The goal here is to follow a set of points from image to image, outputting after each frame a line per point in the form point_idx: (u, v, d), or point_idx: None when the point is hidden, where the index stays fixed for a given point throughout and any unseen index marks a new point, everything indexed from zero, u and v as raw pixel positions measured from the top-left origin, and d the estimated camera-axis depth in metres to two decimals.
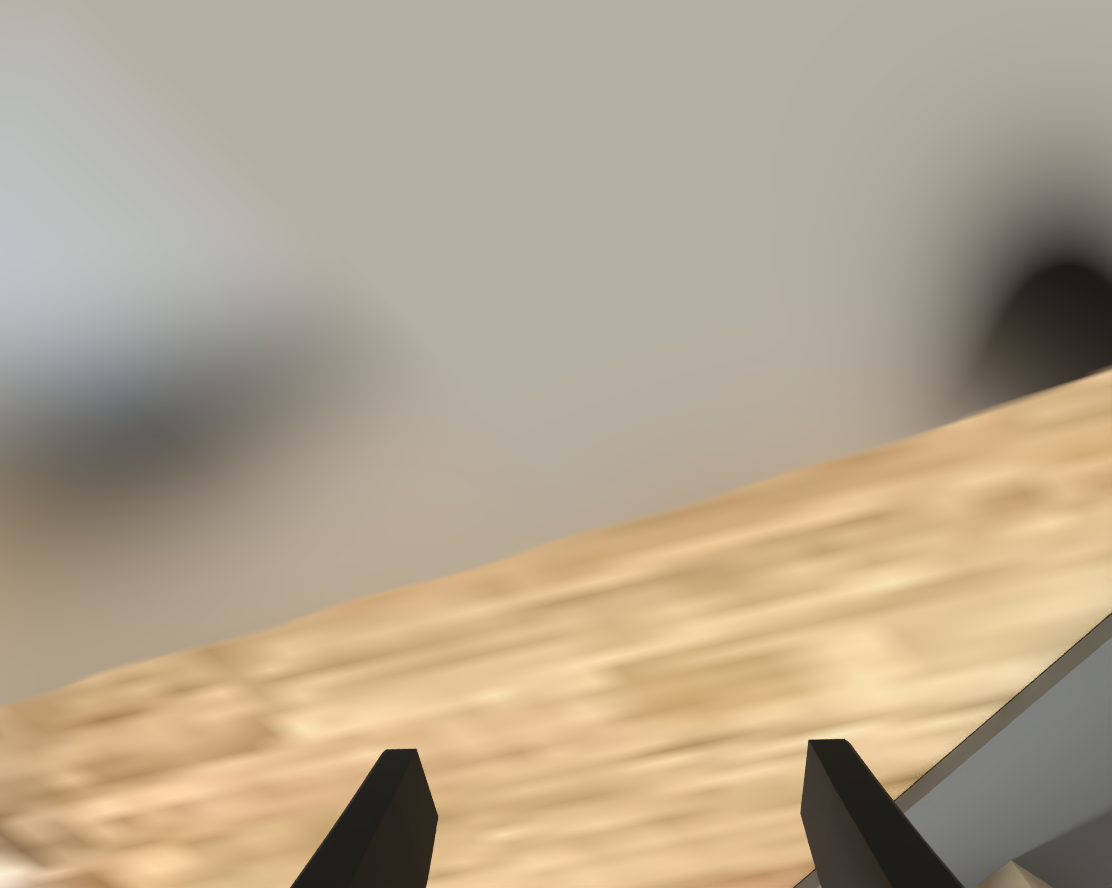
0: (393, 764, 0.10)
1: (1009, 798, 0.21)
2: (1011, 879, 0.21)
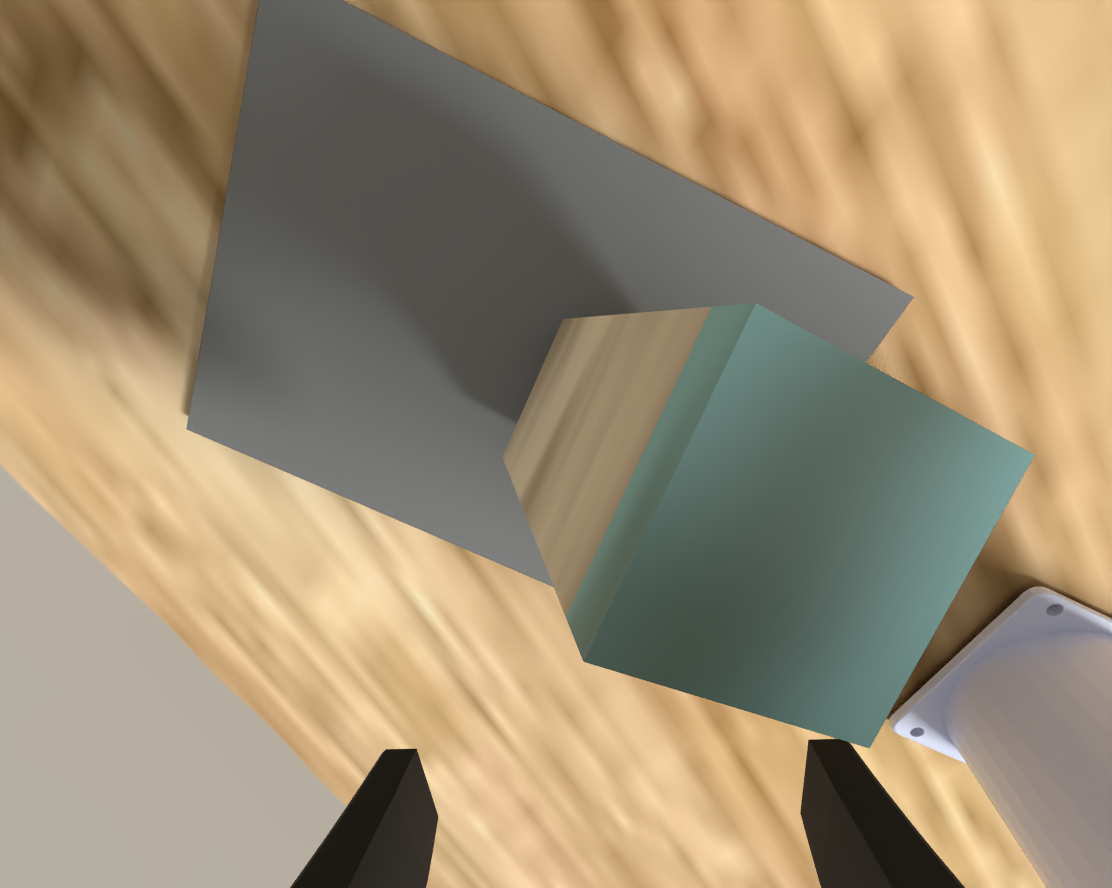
0: (393, 764, 0.10)
1: (424, 467, 0.19)
2: None
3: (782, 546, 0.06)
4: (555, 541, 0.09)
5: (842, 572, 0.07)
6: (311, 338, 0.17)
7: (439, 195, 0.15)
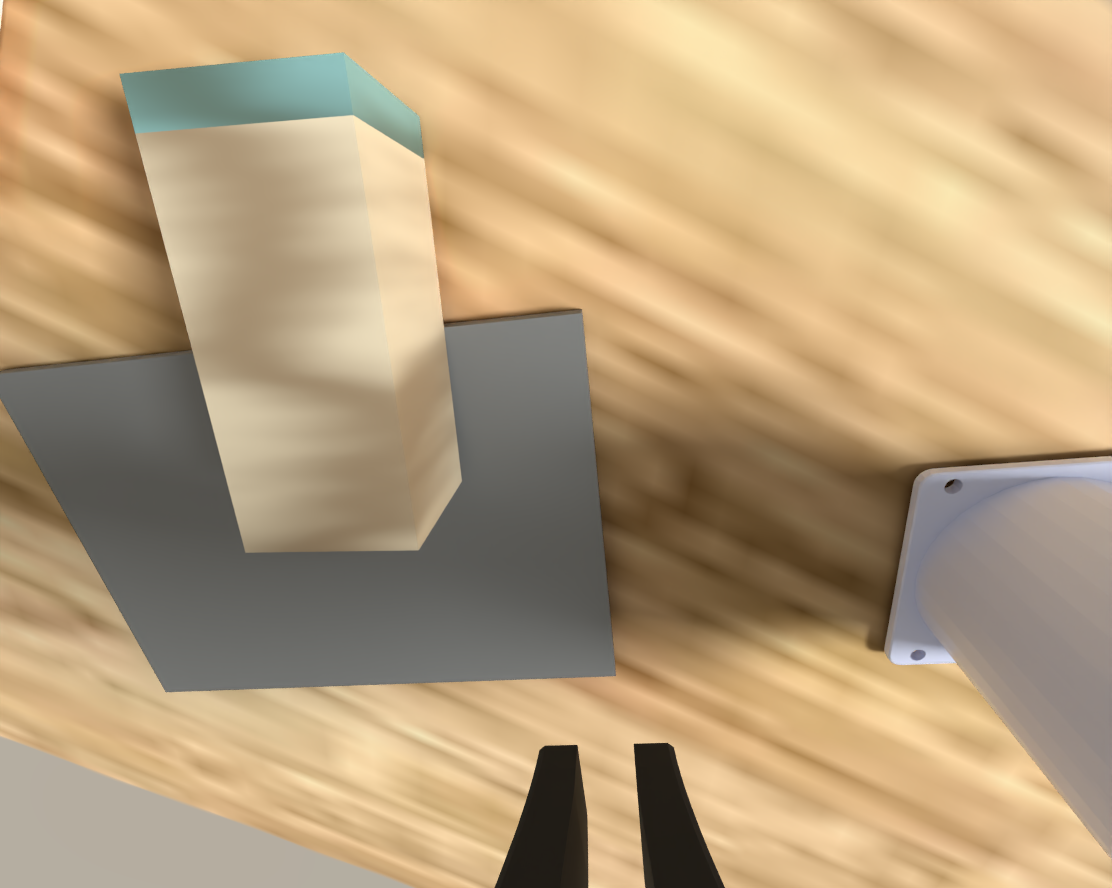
0: (559, 761, 0.09)
1: (331, 638, 0.21)
2: (258, 534, 0.13)
3: None
4: (174, 226, 0.11)
5: None
6: (192, 590, 0.20)
7: (193, 451, 0.18)
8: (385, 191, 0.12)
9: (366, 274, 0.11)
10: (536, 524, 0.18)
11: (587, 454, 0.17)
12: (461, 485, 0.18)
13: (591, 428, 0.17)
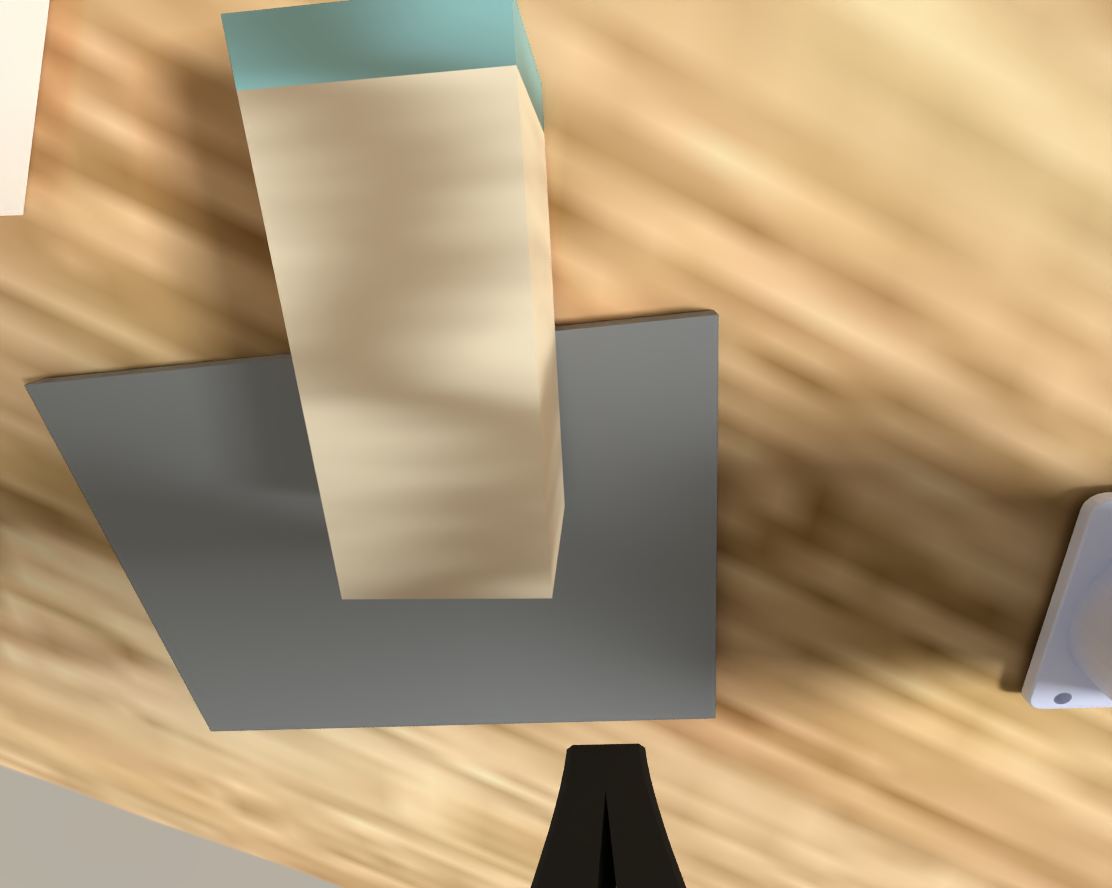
0: (589, 760, 0.09)
1: (399, 676, 0.19)
2: (358, 578, 0.11)
3: None
4: (275, 209, 0.09)
5: None
6: (246, 623, 0.18)
7: (255, 470, 0.16)
8: (531, 166, 0.09)
9: (516, 267, 0.09)
10: (642, 553, 0.16)
11: (708, 476, 0.15)
12: None
13: (716, 446, 0.15)
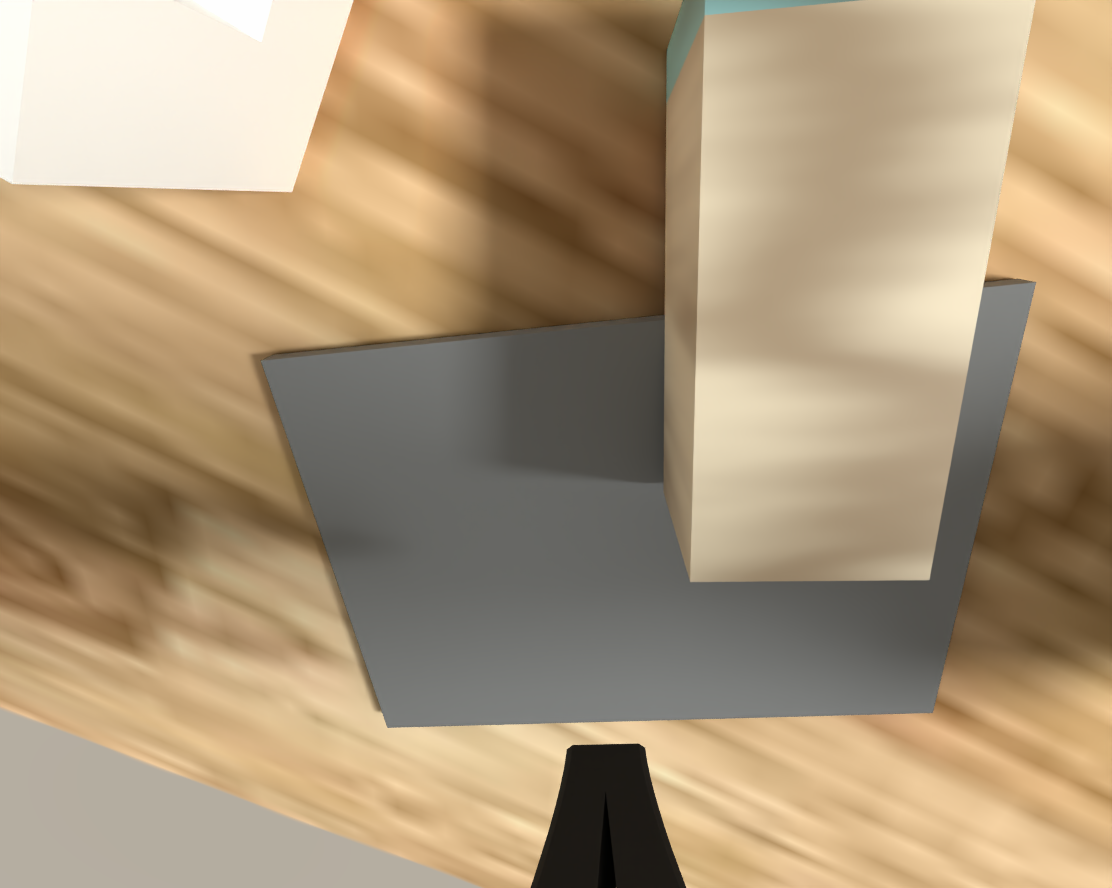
0: (589, 761, 0.09)
1: (602, 669, 0.18)
2: (714, 559, 0.10)
3: None
4: (696, 152, 0.09)
5: None
6: (448, 614, 0.17)
7: (493, 451, 0.15)
8: None
9: (980, 214, 0.08)
10: None
11: (984, 456, 0.14)
12: None
13: (999, 424, 0.14)
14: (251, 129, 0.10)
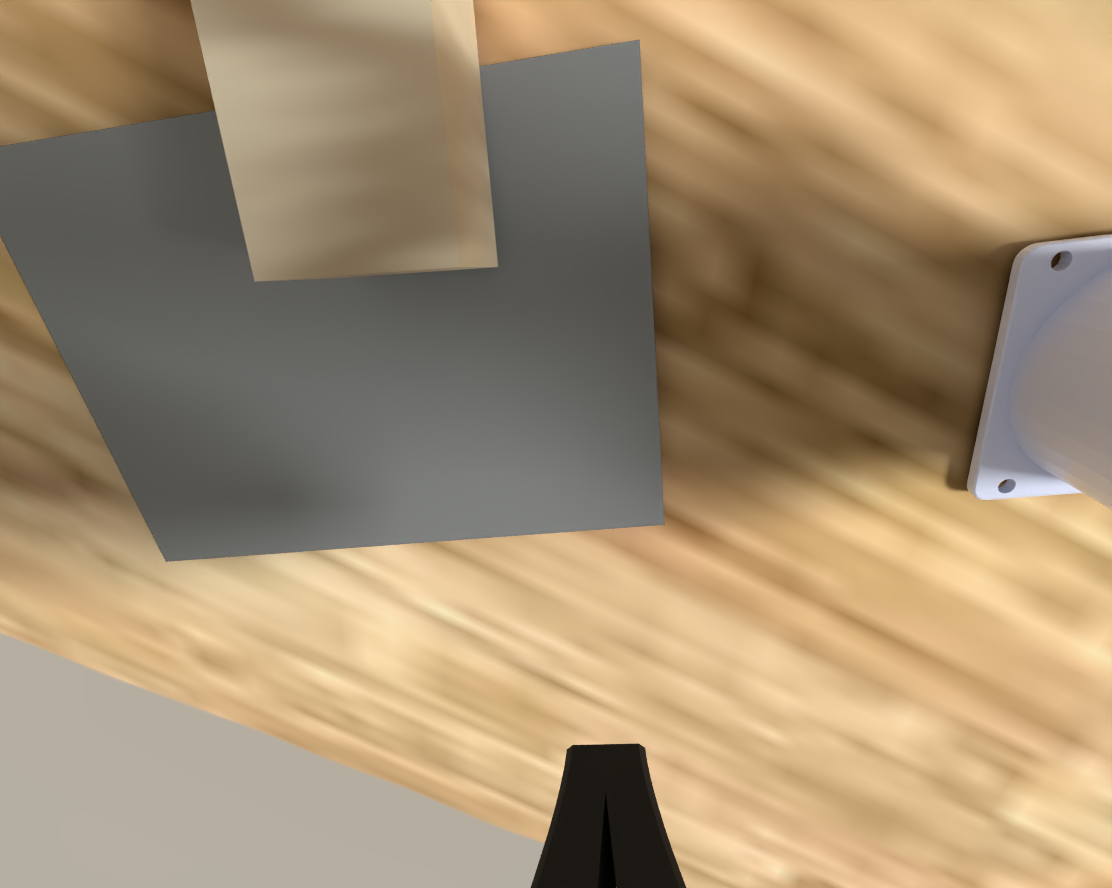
0: (589, 760, 0.09)
1: (348, 487, 0.19)
2: (269, 255, 0.11)
3: None
4: None
5: None
6: (193, 430, 0.18)
7: (192, 246, 0.16)
8: None
9: None
10: (580, 329, 0.16)
11: (640, 233, 0.15)
12: (496, 280, 0.16)
13: (646, 198, 0.15)
14: None
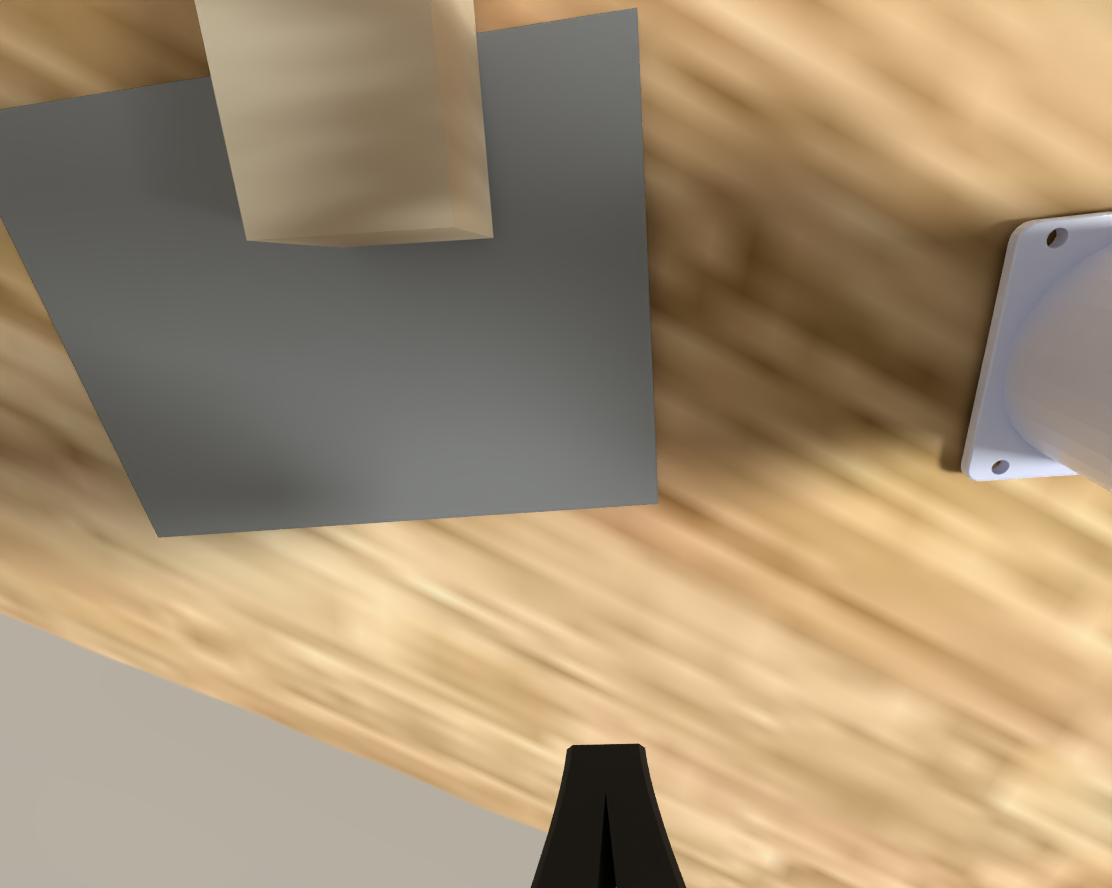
0: (589, 760, 0.09)
1: (342, 463, 0.19)
2: (262, 213, 0.11)
3: None
4: None
5: None
6: (186, 403, 0.18)
7: (187, 215, 0.16)
8: None
9: None
10: (575, 303, 0.16)
11: (637, 206, 0.15)
12: (491, 253, 0.16)
13: (642, 170, 0.15)
14: None
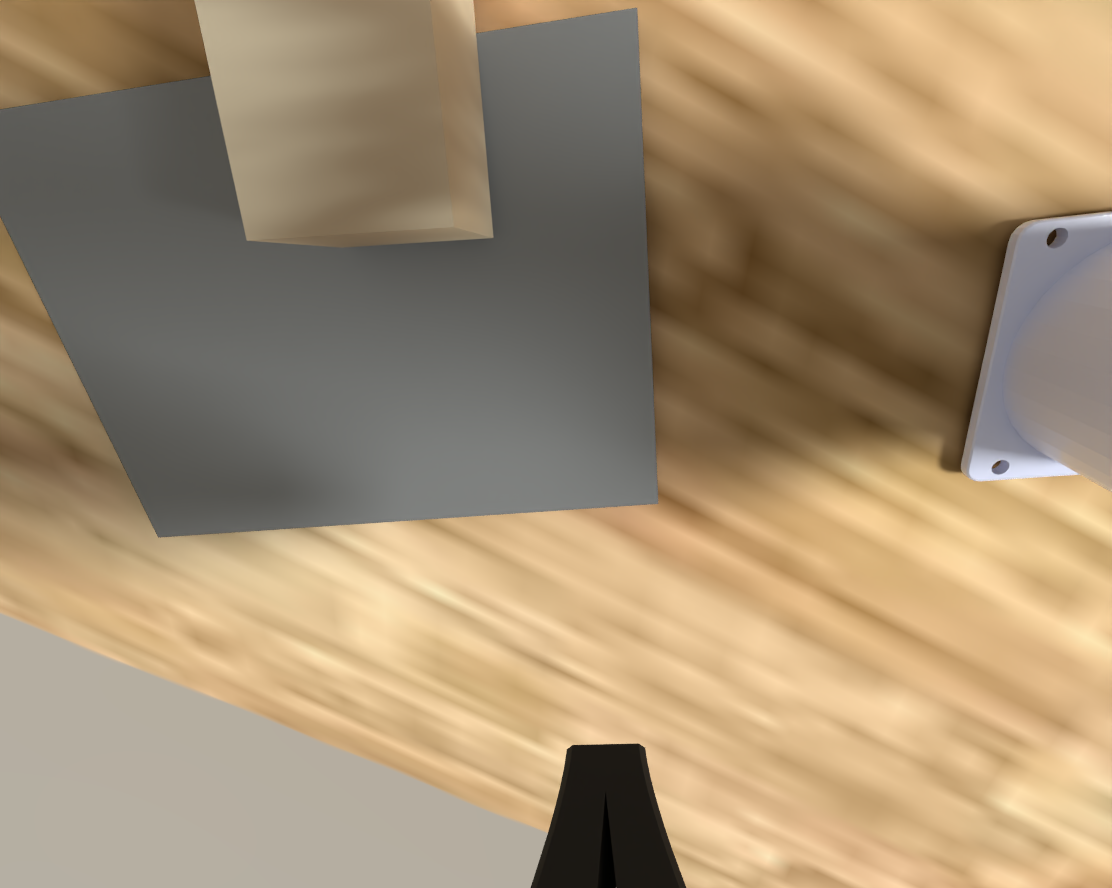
0: (589, 760, 0.09)
1: (342, 463, 0.19)
2: (262, 213, 0.11)
3: None
4: None
5: None
6: (186, 403, 0.18)
7: (187, 215, 0.16)
8: None
9: None
10: (575, 303, 0.16)
11: (637, 206, 0.15)
12: (491, 253, 0.16)
13: (642, 170, 0.15)
14: None
